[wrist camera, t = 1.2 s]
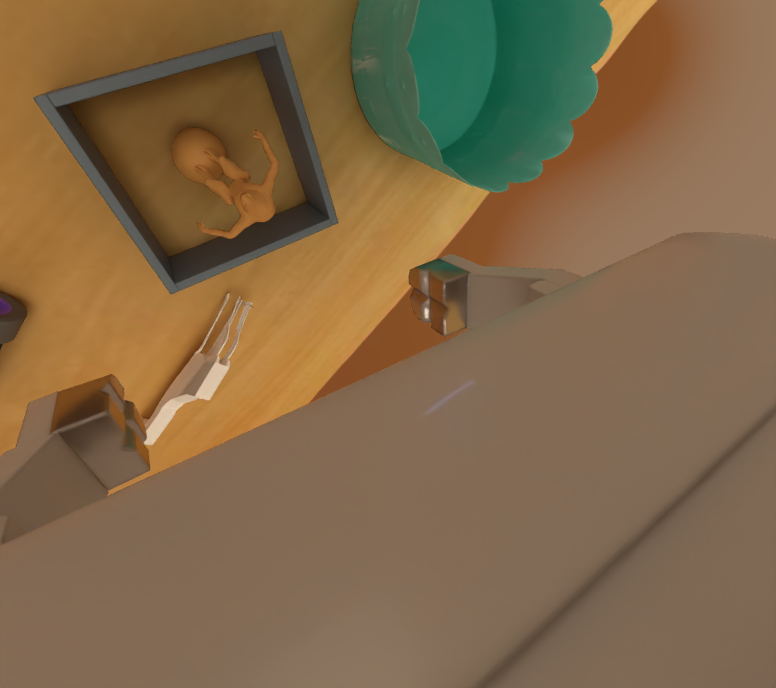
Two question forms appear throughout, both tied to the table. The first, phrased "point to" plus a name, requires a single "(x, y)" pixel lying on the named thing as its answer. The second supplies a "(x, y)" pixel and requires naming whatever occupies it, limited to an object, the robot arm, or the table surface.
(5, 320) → the toy race car
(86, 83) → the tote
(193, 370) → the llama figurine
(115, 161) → the table surface
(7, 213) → the table surface
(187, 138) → the figurine
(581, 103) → the basket
